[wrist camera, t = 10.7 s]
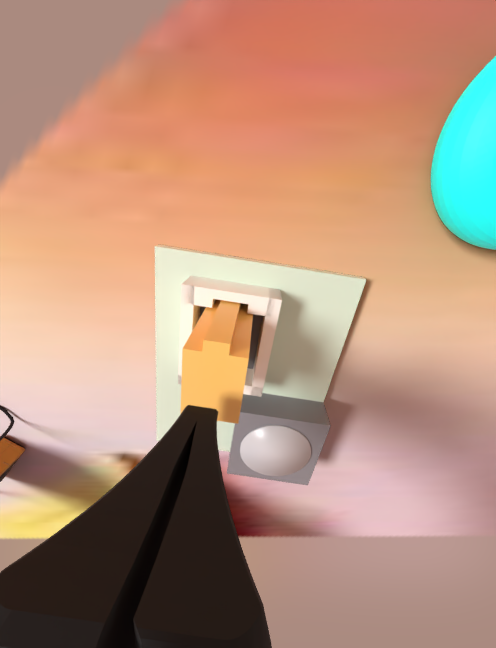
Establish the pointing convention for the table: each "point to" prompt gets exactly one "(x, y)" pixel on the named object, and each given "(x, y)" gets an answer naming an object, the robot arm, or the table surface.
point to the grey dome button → (278, 438)
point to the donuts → (469, 163)
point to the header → (260, 304)
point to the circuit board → (290, 336)
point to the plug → (217, 360)
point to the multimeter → (8, 450)
